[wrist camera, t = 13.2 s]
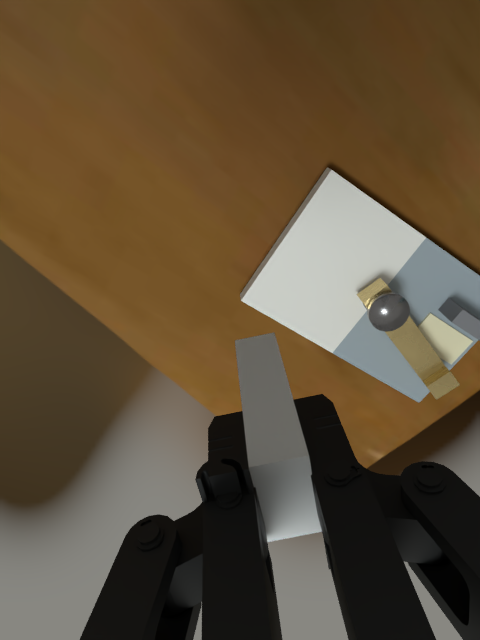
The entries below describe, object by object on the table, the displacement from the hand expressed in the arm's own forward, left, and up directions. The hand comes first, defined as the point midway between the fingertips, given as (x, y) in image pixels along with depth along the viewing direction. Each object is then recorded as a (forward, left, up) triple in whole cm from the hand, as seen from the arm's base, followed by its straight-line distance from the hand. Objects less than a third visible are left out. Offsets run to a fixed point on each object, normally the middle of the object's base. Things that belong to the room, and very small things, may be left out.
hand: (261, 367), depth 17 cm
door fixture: (-1, +16, -26) cm, 31 cm away
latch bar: (0, +20, -24) cm, 31 cm away
